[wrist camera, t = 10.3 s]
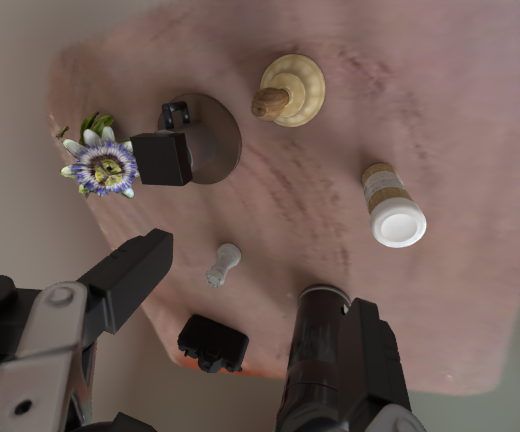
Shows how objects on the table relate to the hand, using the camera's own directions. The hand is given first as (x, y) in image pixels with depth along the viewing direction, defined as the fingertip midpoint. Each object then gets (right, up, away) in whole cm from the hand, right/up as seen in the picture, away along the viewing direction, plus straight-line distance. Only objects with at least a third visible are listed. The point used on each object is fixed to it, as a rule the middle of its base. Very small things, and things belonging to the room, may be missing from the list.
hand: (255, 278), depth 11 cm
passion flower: (-23, +13, +33) cm, 43 cm away
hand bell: (+4, +18, +22) cm, 29 cm away
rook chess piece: (-5, -4, +37) cm, 38 cm away
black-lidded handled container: (-9, +15, +26) cm, 32 cm away
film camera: (-9, -25, +50) cm, 56 cm away
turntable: (-9, +14, +28) cm, 33 cm away
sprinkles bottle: (+16, +8, +24) cm, 30 cm away
